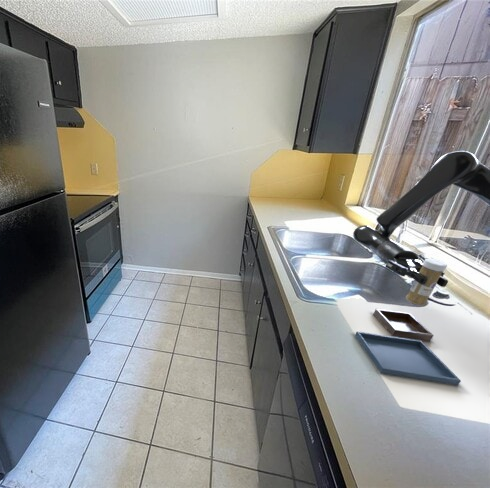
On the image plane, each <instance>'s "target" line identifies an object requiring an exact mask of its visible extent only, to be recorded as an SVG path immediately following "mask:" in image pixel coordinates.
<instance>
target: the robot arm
mask: <svg viewBox="0 0 490 488" xmlns="http://www.w3.org/2000/svg"><path fill="white" fill-rule="evenodd" d="M451 185H453V186H455V187H458V188H460V189H461V190H464V191H466V192H468V193H470V194H471V195H473V196H475V197H476V198H478V199H479V200H481V201H482V202H483V203H485V204H486V205H487V206H488V207H489V208H490V168H489V167H488V166H486V165H484V163H482V162H480V161H479V160H478V159H477V157H476V156H475V155H474V154H473V153H471V152H469V151H465V150H457V151H451V152H448V153H446V154H444V155H442V156H441V157H440V158H439V159H438V160H437V161H436V162H435V163H434V165H432V167H431V168H430V169H429V170H428V171H427V172H426V174H425V175H424V176H423V177H422V178H421V179H420V180H419V181H417V183H416V184H415V185H414V186H413V187H412V188H410V189H409V190H408V191H407V192H406V193H405V194H403V195H402V196H401V197H399V198H398V199H397V200H396V201H394V202H393V203H392V204H391V205H389V206H388V207H387V208H386V209H385V210H384V211H383V212H382V213H380V214H379V215H378V216H377V217H376V220H375V221H376V223H377V224H378V225H379V226H380V227H379V229H378V230H377V229H375V228H374V227H372V226H370V225H365V224H363V225H359V226H357V227H356V228H354V230H353V232H352V237H353V239H354V241H356V242H357V243H359V244H360V245H362V246H363V247H365V248H367V249H368V250H369V251H370V252H372V253H373V254H374V255H376V257H378V259H380V261H382V262H383V263H384V264H385V267H384V268H386V269H387V270H390V271H391V272H393V273H395V274H397V275H399V276H401V277H405V276H406V277H407V278H409V279H413V281H414V280H415V281H417V282H418V283H420V284H422V285H425V284H426V282H427V278H426V277H425V276H424V275H422V274H421V273H419V271H420V270H421V268H422V264H423V262H424V261H421V260H419V257H418V255H417V253H416V252H415V251H413V250H411V249H410V248H408V247H407V246H404V245H403V244H401V243H400V242H397V241H395V240H393V238H392V239H391V238H390V237H391V236H392V234H394V232H395V231H396V229H397V228H399V227H400V226H401V225H403V224H404V223H405V222H406V221H408V220H409V219H410V218H411V217H413V216H414V215H415V214H416V213H418V211H420V210H421V208H423V207H424V206H425V205H426V204H427V203H428V202H429V201H430V200H431V199H433V198H434V197H435V196H436V195H437V194H439V193H440V192H442V191H443V190H445V189H447V188H448V187H450V186H451ZM445 274H446V272H445V271H443V272H442V274H441V276H440V278H439V279H438V281H437V284H436V285H438V286H439V287H441V288H446V287H447V285H448V283H449V280H448V279H446V278H445V277H444V275H445Z"/></svg>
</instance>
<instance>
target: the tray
mask: <svg viewBox="0 0 490 488" xmlns="http://www.w3.org/2000/svg"><path fill="white" fill-rule="evenodd" d="M354 337H355V339H356V340H357V341H358V343H359V344H360V345H361V348H362V349H363V351H365V353H366V354H367V356H368V357H369V359H370V360H371V362H372V363H373V365H374V366H375V367H376V369H377V370H378V372H379V373H380V374H383V375H390V376H396V377H400V378H406V379H407V378H408V379H414V380H419V381H426V382H431V383H437V384H444V385H451V386H459V385H460V383H461V382H462V380H461V379H460V378H459V377H458V376H457V375H456V374H455V373H454V372H453V371H452V370H451V369H450V368H449V367H448V366H447V365H446V364H445V363H444V362H443V361H442V360H441V359H440V358H439V357H438V356H437V355H436V353H434V352H433V351H432V349H430V348H429V347H428V346H427V344H426V343H424V341H422V340H415V339H408V338H401V337H394V336H392V335H384V334H377V333H371V332H364V331H363V332H362V331H356V332H355V334H354Z"/></svg>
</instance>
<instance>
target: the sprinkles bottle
mask: <svg viewBox="0 0 490 488" xmlns="http://www.w3.org/2000/svg"><path fill="white" fill-rule="evenodd" d="M422 262H423V264H422V268H421V270H420V271H419V273H421V274H422V275H424V276H425V277H426V278H427V282H426V284H425V285H422V284H420V283H418V282H417V281H415V280H414V279H413V283H412V284H411V287H410V289H409V291H408V293H407V295H406V296H405V299H406V300H407V301H408V302H409V303H411V304H414V305H418V306H426V303H427V301H428V299H429V297H430V296H431V294H432V292H433V291H434V289H435V288H436V286H437V285H438V284H437V281H438V279H439V278H440V276H441V274H442V272H443V271H444V272H445V271H446V269H447V267H448V264H447V263H446V262H444V261H443V260H442V261H441V260H440V259H435V258H429V257H428V258H425V259H424V260H423V261H422Z"/></svg>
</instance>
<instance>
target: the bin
mask: <svg viewBox="0 0 490 488" xmlns="http://www.w3.org/2000/svg"><path fill="white" fill-rule="evenodd" d="M372 315H373V316H374V317H375V319H377V321H378V322H379V323H380V324H381V325H382V327H384V329H385V330H386V331H387V333H388V334H389V335H390V336H392V337H399V338H406V339H413V340H420V341H422V342H430V343H431V341H432V340H433V337H434V334H433V332H431V331H430V330H429V329H428V328H426V326H424V324H422V323H421V322H420V321H419V320H418V319H417V318H416V317H415V316H414V315H413V314H411V313H410V312H405V311H403V312H402V311H398V310H397V311H396V310H390V309H389V310H388V309H381V308H375V309H374V311H373V314H372Z"/></svg>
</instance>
